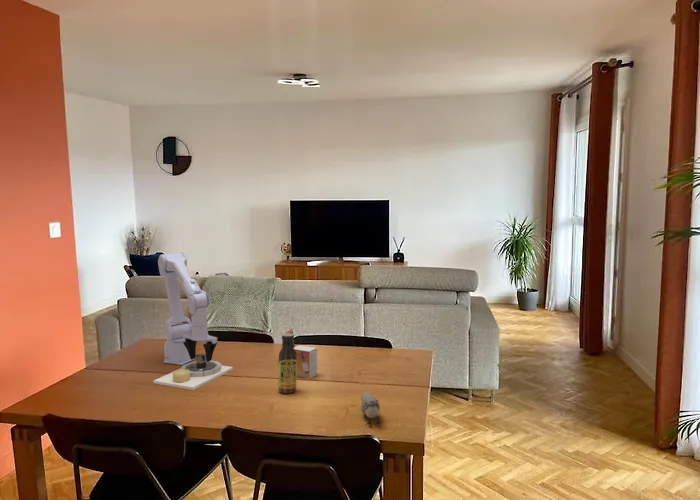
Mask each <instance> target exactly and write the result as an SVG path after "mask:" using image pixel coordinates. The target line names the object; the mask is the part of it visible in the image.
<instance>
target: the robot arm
mask: <svg viewBox="0 0 700 500" xmlns="http://www.w3.org/2000/svg"><path fill="white" fill-rule="evenodd" d="M157 265H158V271H159V275H160V277H163V278H164V279H163V280H164V285H165V289H166V291H165V292H166V297H167V303H168V309H169V315H170V317H169V318H168V319H167V320H166V321H165V322H164V336H165V338H166V341H165V342H164V346H163V350H164V351H163V352H164V354H163V355H164V360H163V361H162V362H163V363H165V364H172V365H180V366H183V365H185V364H188V363H190V362H193V361H194V360H195V359H196V355H197V353H196V351H197V350H196V349H197V342H202V343H204V344H203V345H202V346H203V349H204V351H205V354H206V361H207V362H209V361H213V360H212V359H213V354H214V351H215V349H216V347H217V345H218V337H216V336H213V335H210V334H209V333H208V312H207V311H208V309H207V308H208V307H209V305H210V298H209V295H208V292H206V291H204V290H201V288H200V286H199V284H198V282H197V280H196V279H195V278H192V277H191V274H190V272H189V270H188V268H187V265H188V259H187V255H186V254H185V253H184V252H177V253H167V254H163V253H162V254H160V255H159V256H158V260H157ZM178 278H179V280H180V282H182V283H181V289H182V290H183V292H184V294H185V296H186V298H187V306H188V308H189V309H188V310H189V314H190V318H191V319H190V318H189V317H188V316H185V315H184V310H183V306H182V301H181V299H182V298H181V292H180V288H179V282H178Z"/></svg>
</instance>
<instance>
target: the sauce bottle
mask: <svg viewBox="0 0 700 500" xmlns="http://www.w3.org/2000/svg"><path fill="white" fill-rule="evenodd" d="M285 333H286V332H285ZM285 333H283V334H281V340H282V341H281V349H280V351H279V352H278V361H277V363H278V371H277V372H278V375H277V376H278V378H277V383H278V384H277V386H278V392H279V393H282V394H291V393H295V392H296V390H297V377H298V376H297V357H296V351H295V349H294V348H293V339H294V338H295V337H294V336H295V334H294V333H293V334H290V333H286V334H285ZM294 340H295V339H294Z"/></svg>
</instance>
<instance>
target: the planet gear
mask: <svg viewBox="0 0 700 500" xmlns="http://www.w3.org/2000/svg"><path fill="white" fill-rule="evenodd" d="M195 359H196V360H195V361H196V363H197V365H192V366H191V368H188V370H190V371H193V372H198V371H207V370H211V369H213V368H215V365H211V363H208V364H206V353H196V356H195Z"/></svg>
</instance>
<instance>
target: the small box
mask: <svg viewBox="0 0 700 500" xmlns="http://www.w3.org/2000/svg"><path fill="white" fill-rule="evenodd" d="M294 349H295V351H296V357H297V376H296V377H298V378H303V379H307V380H310V379H312V378H314V377H316V376H317V375H318V347H313V346H306V345H301V344H299V345H297V346H295V347H294Z"/></svg>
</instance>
